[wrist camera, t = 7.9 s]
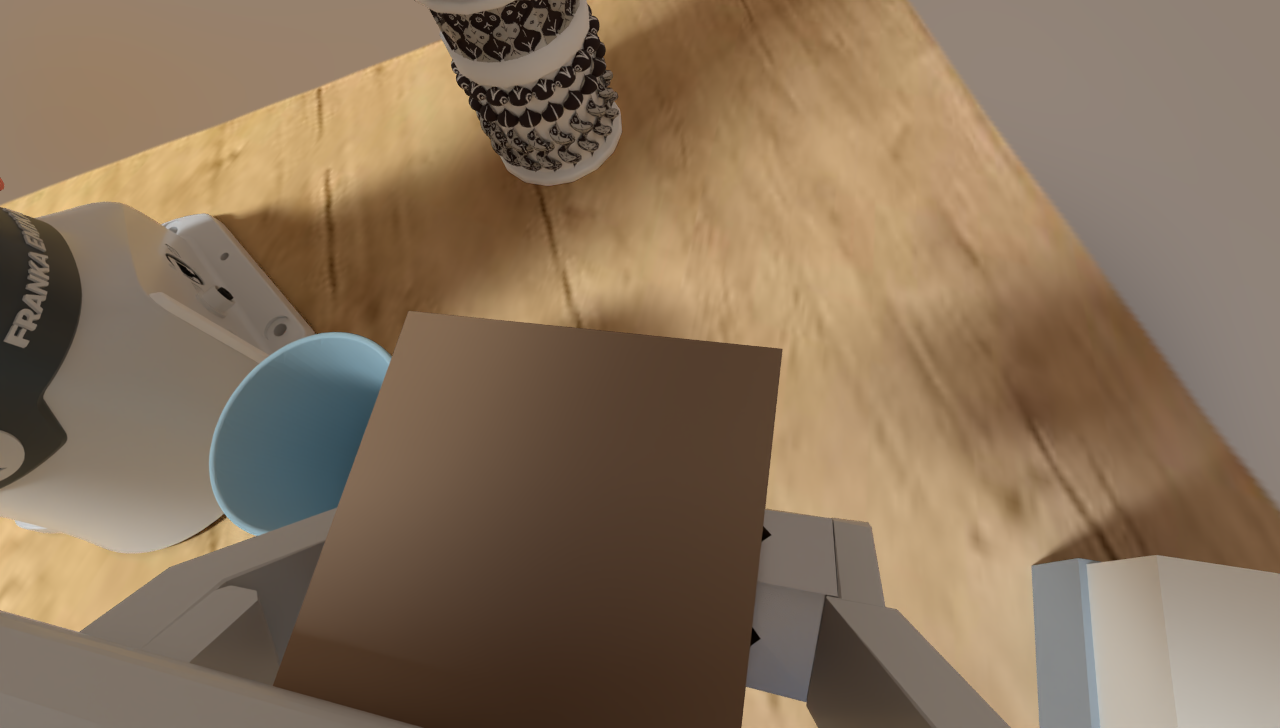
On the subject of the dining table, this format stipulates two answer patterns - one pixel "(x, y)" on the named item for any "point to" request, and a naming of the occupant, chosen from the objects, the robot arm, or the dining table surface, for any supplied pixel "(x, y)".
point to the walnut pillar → (546, 532)
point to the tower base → (1064, 645)
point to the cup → (295, 430)
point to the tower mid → (1185, 644)
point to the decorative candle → (534, 83)
